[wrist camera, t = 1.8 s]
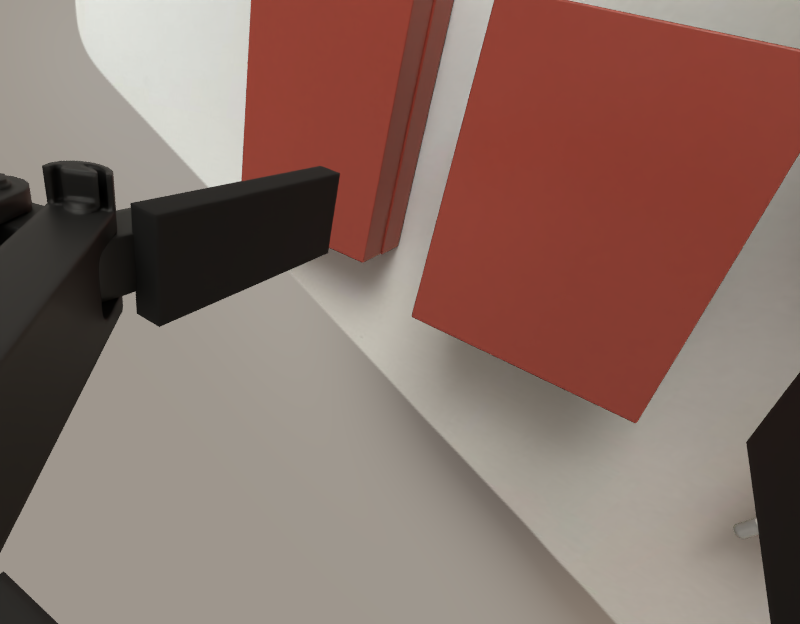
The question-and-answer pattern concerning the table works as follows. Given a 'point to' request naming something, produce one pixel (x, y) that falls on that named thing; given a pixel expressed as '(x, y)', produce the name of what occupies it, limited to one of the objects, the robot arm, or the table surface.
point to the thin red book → (604, 191)
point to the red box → (344, 103)
